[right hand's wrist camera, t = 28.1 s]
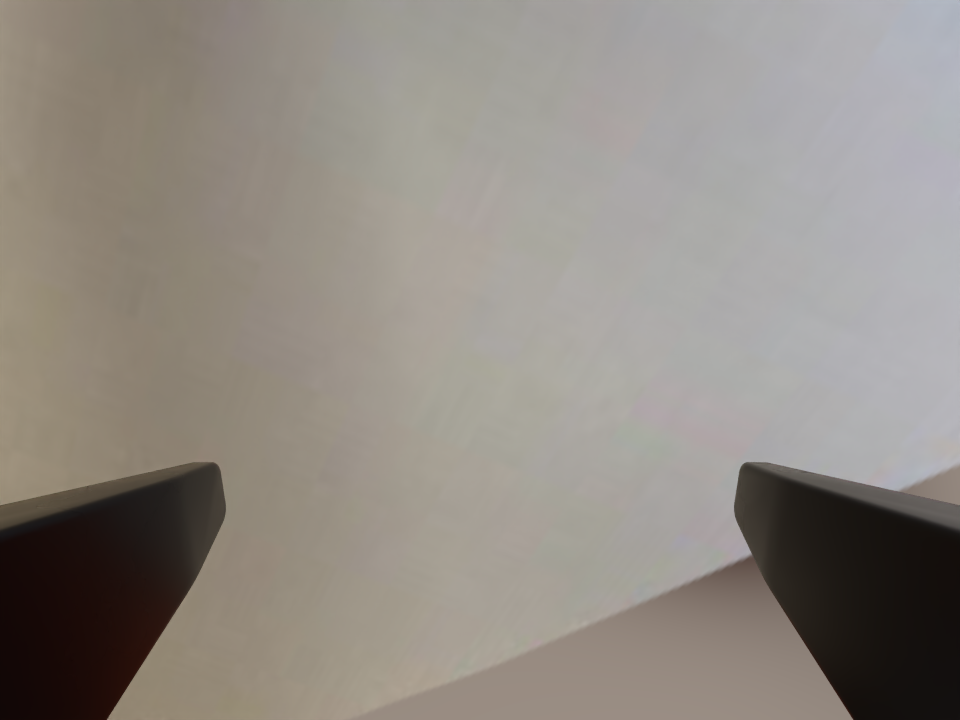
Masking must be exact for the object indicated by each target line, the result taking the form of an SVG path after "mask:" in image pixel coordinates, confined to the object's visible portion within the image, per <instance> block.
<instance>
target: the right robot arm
mask: <svg viewBox="0 0 960 720" xmlns="http://www.w3.org/2000/svg"><path fill="white" fill-rule="evenodd" d="M225 512H226V503H225V497H224V490H223V484H222V477H221V471H220V468H219V466H218V465H217V464H216V463H214V462H194V463H189V464H184V465H180V466H175V467H171V468H166V469H162V470H157V471H153V472H148V473H144V474H139V475H135V476H130V477H126V478H121V479H117V480H112V481H108V482H103V483H99V484H94V485H90V486H85V487H81V488H76V489H72V490H67V491H63V492H59V493H54V494H50V495H45V496H41V497H36V498H32V499H27V500H23V501H18V502H14V503H9V504H5V505H0V720H107V718H108V717H109V715H110V714H111V712H112V711H113V709H114V707H115V706H116V704H117V703H118V701H119V700H120V698H121V696H122V695H123V693H124V692H125V690H126V689H127V687H128V686H129V684H130V682H131V681H132V679H133V678H134V676H135V675H136V673H137V671H138V670H139V668H140V667H141V665H142V664H143V662H144V660H145V659H146V657H147V656H148V654H149V653H150V651H151V649H152V648H153V646H154V645H155V643H156V642H157V640H158V638H159V637H160V635H161V634H162V632H163V631H164V629H165V628H166V626H167V624H168V623H169V621H170V620H171V618H172V617H173V615H174V613H175V612H176V610H177V609H178V607H179V606H180V604H181V602H182V601H183V599H184V598H185V596H186V595H187V593H188V591H189V590H190V588H191V586H192V585H193V583H194V581H195V580H196V578H197V576H198V574H199V572H200V570H201V568H202V566H203V563H204V561H205V559H206V557H207V555H208V553H209V551H210V549H211V546H212V544H213V542H214V540H215V538H216V536H217V534H218V532H219V529H220V527H221V525H222V523H223V521H224V517H225ZM734 512H735V517H736V521H737V523H738V525H739V527H740V529H741V532H742V534H743V536H744V538H745V540H746V542H747V544H748V546H749V549H750V551H751V553H752V555H753V557H754V559H755V561H756V563H757V565H758V568H759V570H760V572H761V574H762V576H763V578H764V580H765V581H766V583H767V585H768V586H769V588H770V590H771V591H772V593H773V595H774V596H775V598H776V599H777V601H778V602H779V604H780V605H781V607H782V609H783V610H784V612H785V613H786V615H787V616H788V618H789V620H790V621H791V623H792V624H793V626H794V627H795V629H796V631H797V632H798V634H799V635H800V637H801V638H802V640H803V641H804V643H805V645H806V646H807V648H808V649H809V651H810V653H811V654H812V656H813V657H814V659H815V660H816V662H817V663H818V665H819V667H820V668H821V670H822V671H823V673H824V674H825V676H826V678H827V679H828V681H829V682H830V684H831V685H832V687H833V689H834V690H835V692H836V693H837V695H838V696H839V698H840V699H841V701H842V703H843V704H844V706H845V707H846V709H847V711H848V712H849V714H850V715H851V717H852V718H853V720H960V505H955V504H951V503H947V502H942V501H938V500H933V499H929V498H924V497H920V496H915V495H911V494H906V493H902V492H897V491H893V490H888V489H884V488H879V487H875V486H870V485H866V484H861V483H857V482H852V481H848V480H843V479H839V478H834V477H830V476H825V475H821V474H816V473H812V472H807V471H803V470H798V469H794V468H789V467H785V466H780V465H776V464H771V463H766V462H746V463H744V464H743V465H742V466H741V468H740V471H739V477H738V484H737V490H736V497H735V503H734Z"/></svg>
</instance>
